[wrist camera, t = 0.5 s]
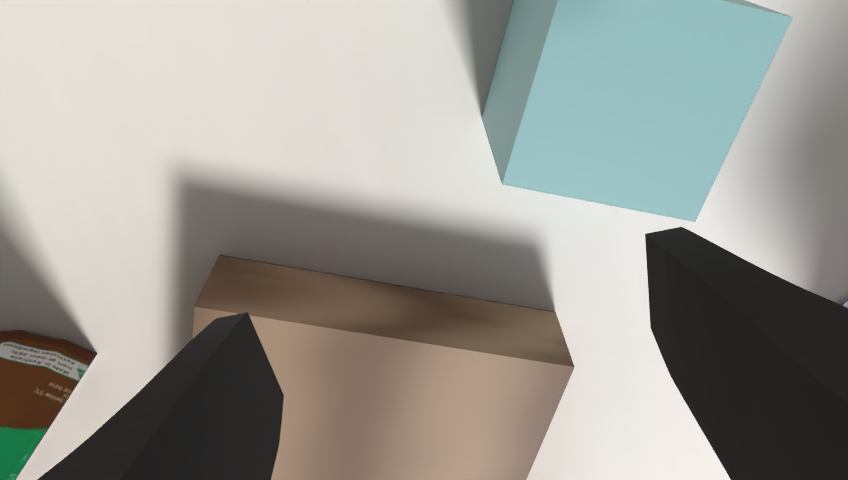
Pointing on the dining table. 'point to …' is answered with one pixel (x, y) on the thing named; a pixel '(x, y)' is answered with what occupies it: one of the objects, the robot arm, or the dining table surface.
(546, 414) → the walnut base
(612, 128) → the teal cube
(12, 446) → the food container
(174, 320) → the dining table surface
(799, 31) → the dining table surface
